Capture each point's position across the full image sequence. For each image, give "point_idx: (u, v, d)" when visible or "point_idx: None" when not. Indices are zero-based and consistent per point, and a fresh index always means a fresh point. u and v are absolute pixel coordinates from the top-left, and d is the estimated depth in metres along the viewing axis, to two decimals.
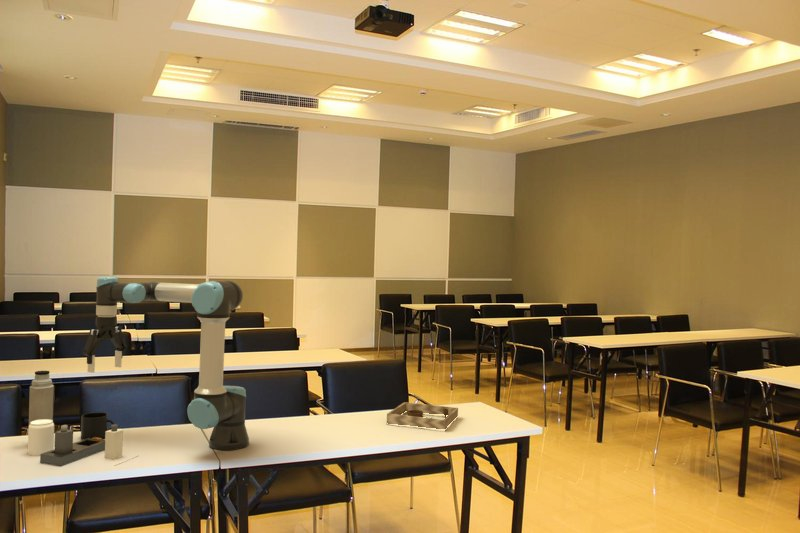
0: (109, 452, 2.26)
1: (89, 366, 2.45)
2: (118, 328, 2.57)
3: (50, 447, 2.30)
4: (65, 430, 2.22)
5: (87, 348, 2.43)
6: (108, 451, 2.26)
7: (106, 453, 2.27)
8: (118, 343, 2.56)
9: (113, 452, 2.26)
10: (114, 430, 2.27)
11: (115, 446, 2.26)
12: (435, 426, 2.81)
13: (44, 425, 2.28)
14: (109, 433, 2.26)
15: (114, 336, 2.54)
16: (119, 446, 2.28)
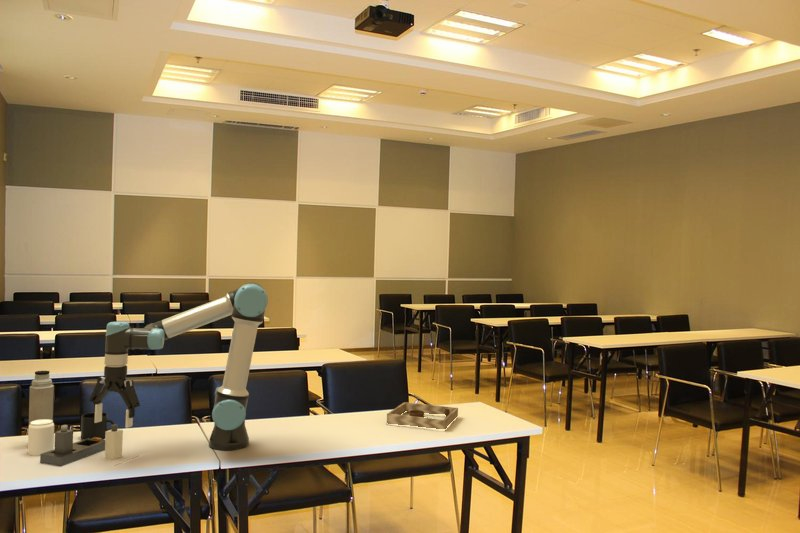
0: (109, 452, 2.26)
1: None
2: None
3: (50, 447, 2.30)
4: (65, 430, 2.22)
5: None
6: (108, 451, 2.26)
7: (106, 453, 2.27)
8: (124, 399, 2.25)
9: (113, 452, 2.26)
10: (114, 430, 2.27)
11: (115, 446, 2.26)
12: (435, 426, 2.81)
13: (44, 425, 2.28)
14: (109, 433, 2.26)
15: (117, 390, 2.25)
16: (119, 446, 2.28)
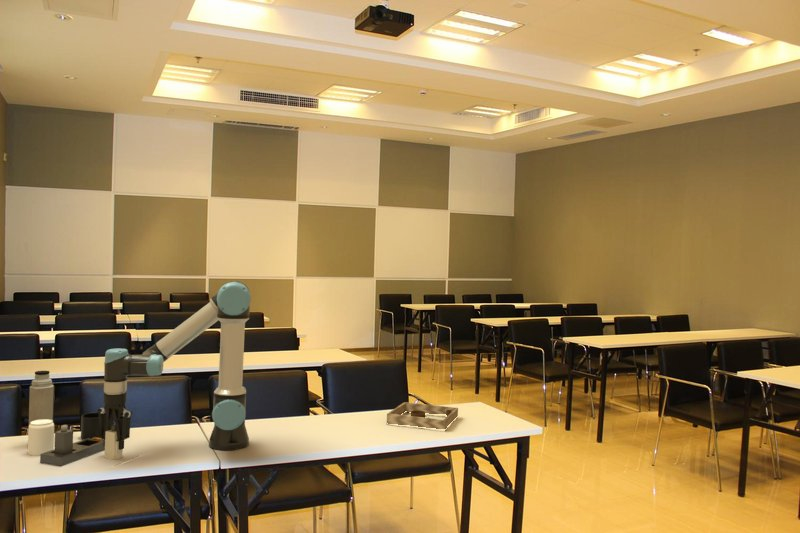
0: (109, 452, 2.26)
1: None
2: (125, 413, 2.25)
3: (50, 447, 2.30)
4: (65, 430, 2.22)
5: None
6: (108, 451, 2.26)
7: (106, 453, 2.27)
8: (117, 429, 2.26)
9: (113, 452, 2.26)
10: (114, 430, 2.27)
11: (115, 446, 2.26)
12: (435, 426, 2.81)
13: (44, 425, 2.28)
14: (109, 433, 2.26)
15: (114, 418, 2.26)
16: None
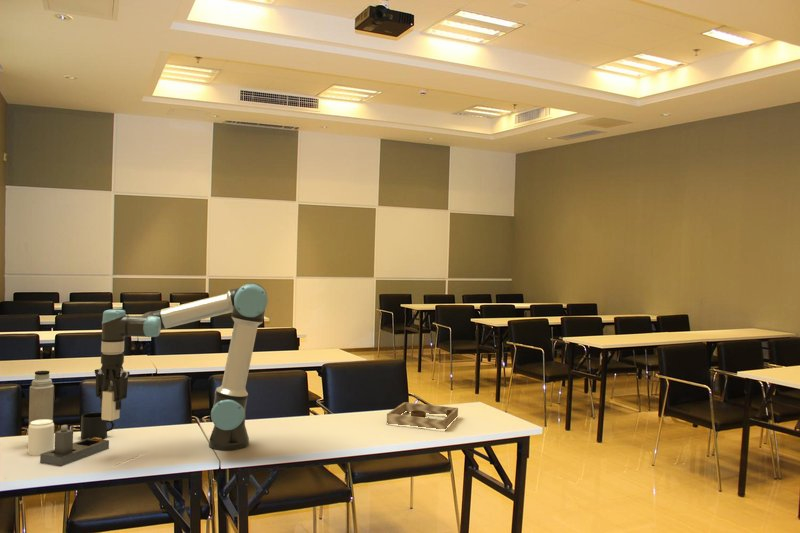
0: (106, 412, 2.27)
1: None
2: (123, 373, 2.26)
3: (50, 447, 2.30)
4: (65, 430, 2.22)
5: None
6: (105, 411, 2.27)
7: (103, 413, 2.27)
8: (114, 389, 2.26)
9: (110, 412, 2.26)
10: (111, 390, 2.27)
11: (112, 406, 2.26)
12: (435, 426, 2.81)
13: (44, 425, 2.28)
14: (106, 393, 2.27)
15: (112, 378, 2.26)
16: None
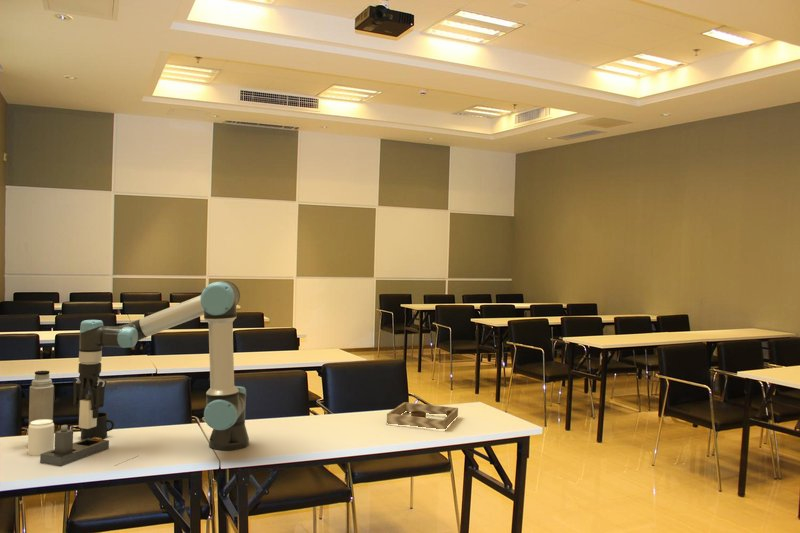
0: (83, 420, 2.31)
1: None
2: None
3: (50, 447, 2.30)
4: (65, 430, 2.22)
5: None
6: (82, 419, 2.31)
7: (80, 421, 2.32)
8: (91, 398, 2.31)
9: (87, 420, 2.31)
10: (88, 399, 2.32)
11: (89, 414, 2.31)
12: (435, 426, 2.81)
13: (44, 425, 2.28)
14: (83, 402, 2.31)
15: (89, 387, 2.31)
16: None
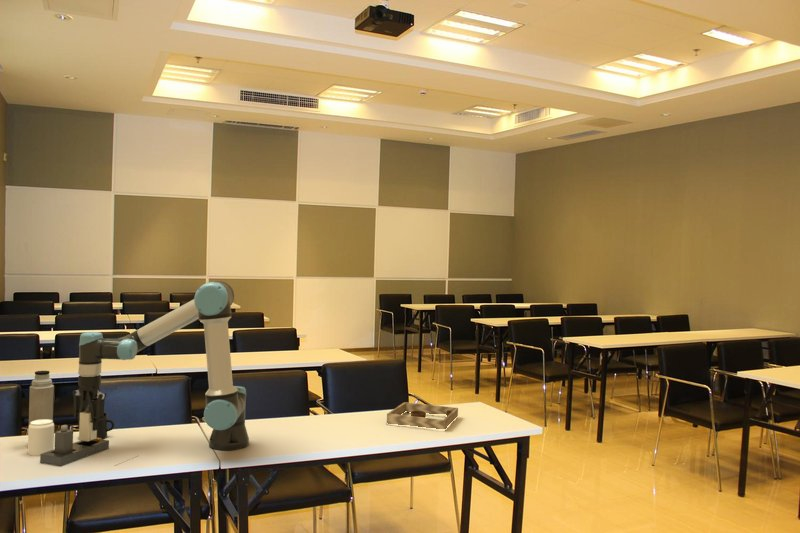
0: (83, 432, 2.31)
1: None
2: None
3: (50, 447, 2.30)
4: (65, 430, 2.22)
5: None
6: (82, 432, 2.32)
7: (80, 434, 2.32)
8: (91, 411, 2.31)
9: (87, 433, 2.31)
10: (88, 411, 2.32)
11: (89, 427, 2.31)
12: (435, 426, 2.81)
13: (44, 425, 2.28)
14: (83, 414, 2.31)
15: (89, 400, 2.31)
16: None
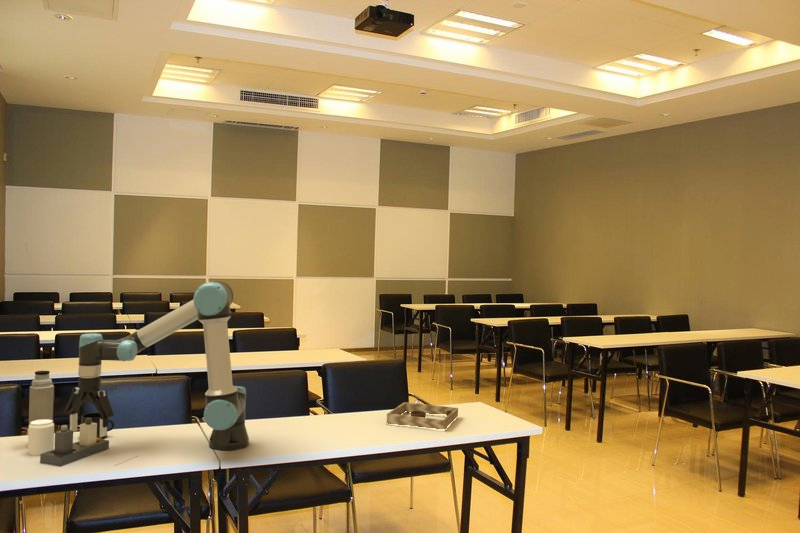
0: (83, 444, 2.32)
1: None
2: None
3: (50, 447, 2.30)
4: (65, 430, 2.22)
5: None
6: (82, 444, 2.32)
7: None
8: (98, 409, 2.30)
9: (87, 445, 2.31)
10: (88, 423, 2.32)
11: (89, 439, 2.31)
12: (435, 426, 2.81)
13: (44, 425, 2.28)
14: (83, 426, 2.32)
15: (91, 400, 2.31)
16: (93, 439, 2.33)
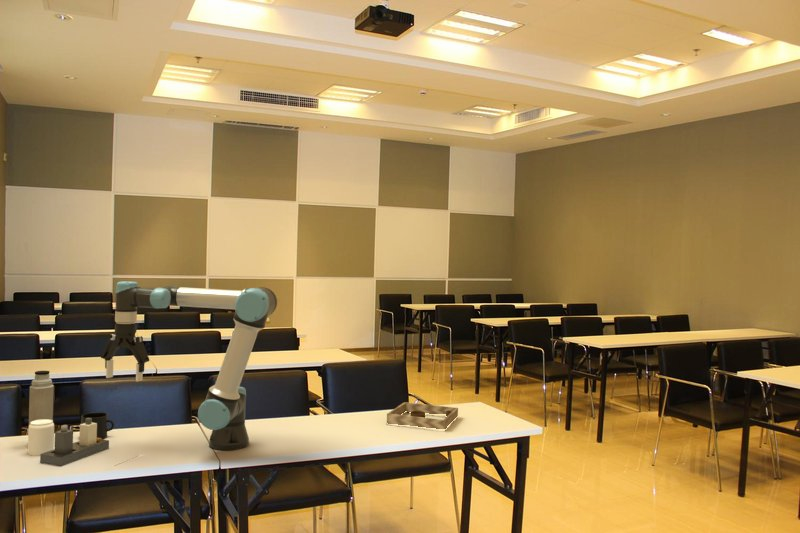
0: (83, 444, 2.32)
1: None
2: None
3: (50, 447, 2.30)
4: (65, 430, 2.22)
5: None
6: (82, 444, 2.32)
7: None
8: (134, 354, 2.36)
9: (87, 445, 2.31)
10: (88, 423, 2.32)
11: (89, 439, 2.31)
12: (435, 426, 2.81)
13: (44, 425, 2.28)
14: (83, 426, 2.32)
15: (128, 345, 2.36)
16: (93, 439, 2.33)
